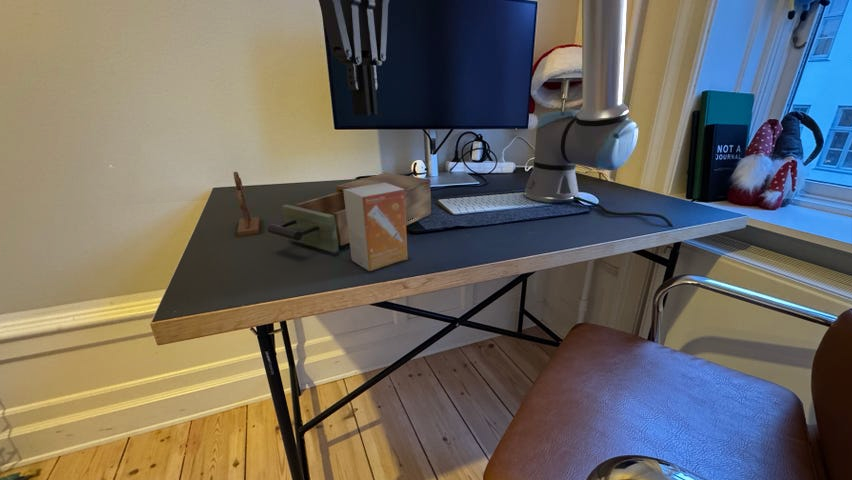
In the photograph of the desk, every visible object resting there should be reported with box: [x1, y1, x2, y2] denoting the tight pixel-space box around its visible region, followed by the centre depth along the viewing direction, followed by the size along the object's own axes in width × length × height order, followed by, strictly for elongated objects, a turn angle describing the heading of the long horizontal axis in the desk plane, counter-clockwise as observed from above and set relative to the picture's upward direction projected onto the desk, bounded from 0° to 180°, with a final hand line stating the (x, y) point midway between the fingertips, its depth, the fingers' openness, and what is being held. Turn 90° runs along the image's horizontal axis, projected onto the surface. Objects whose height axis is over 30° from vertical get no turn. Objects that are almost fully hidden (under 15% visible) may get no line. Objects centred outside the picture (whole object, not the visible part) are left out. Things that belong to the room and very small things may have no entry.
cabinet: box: [335, 172, 432, 227], centre depth 85 cm, size 17×14×9 cm
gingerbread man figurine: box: [233, 171, 260, 237], centre depth 77 cm, size 9×4×12 cm, turn 26°
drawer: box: [267, 191, 350, 254], centre depth 71 cm, size 21×12×7 cm, turn 151°
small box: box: [343, 182, 408, 272], centre depth 63 cm, size 8×6×13 cm
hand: (365, 114), depth 55 cm, fingers closed
